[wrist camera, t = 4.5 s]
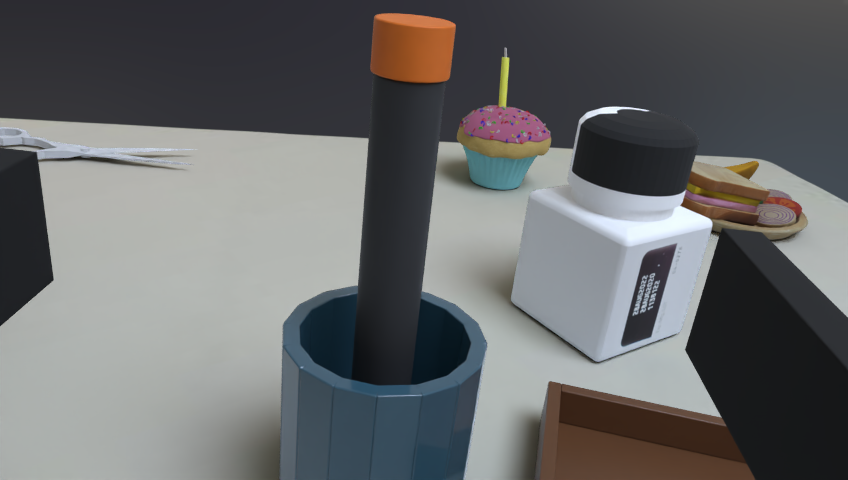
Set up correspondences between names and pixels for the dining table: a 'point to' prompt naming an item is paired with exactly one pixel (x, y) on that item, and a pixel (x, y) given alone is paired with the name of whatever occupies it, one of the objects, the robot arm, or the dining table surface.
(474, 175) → the cupcake
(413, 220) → the marker
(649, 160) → the container
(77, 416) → the dining table surface
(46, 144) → the scissors
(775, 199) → the toy sandwich meal
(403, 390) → the pen cup
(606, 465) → the tray
